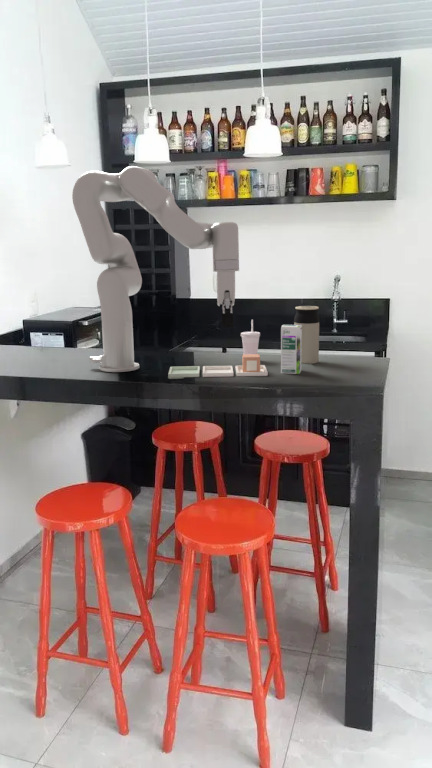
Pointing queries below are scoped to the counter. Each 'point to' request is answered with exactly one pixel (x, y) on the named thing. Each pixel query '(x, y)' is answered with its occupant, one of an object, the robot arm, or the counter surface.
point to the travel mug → (308, 332)
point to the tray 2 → (217, 371)
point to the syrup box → (291, 349)
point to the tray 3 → (262, 372)
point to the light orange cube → (250, 363)
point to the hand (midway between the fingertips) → (227, 325)
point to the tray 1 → (183, 372)
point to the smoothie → (250, 341)
